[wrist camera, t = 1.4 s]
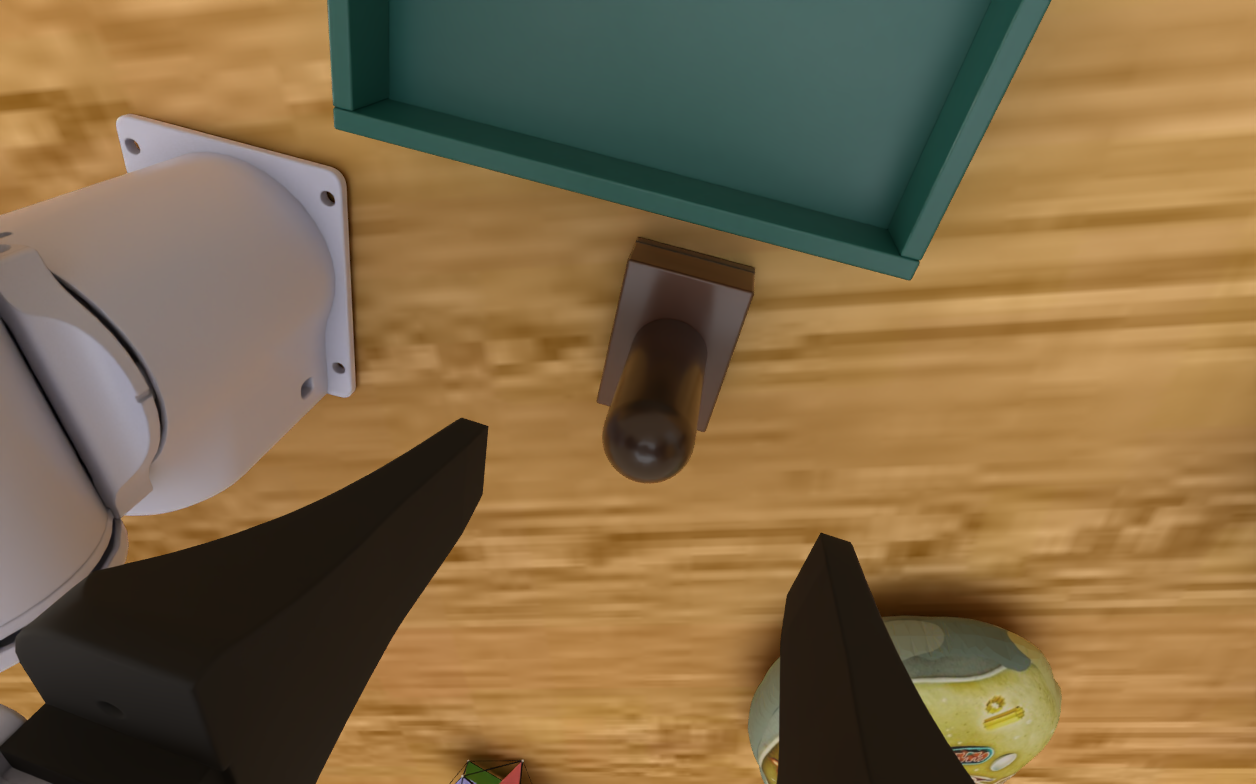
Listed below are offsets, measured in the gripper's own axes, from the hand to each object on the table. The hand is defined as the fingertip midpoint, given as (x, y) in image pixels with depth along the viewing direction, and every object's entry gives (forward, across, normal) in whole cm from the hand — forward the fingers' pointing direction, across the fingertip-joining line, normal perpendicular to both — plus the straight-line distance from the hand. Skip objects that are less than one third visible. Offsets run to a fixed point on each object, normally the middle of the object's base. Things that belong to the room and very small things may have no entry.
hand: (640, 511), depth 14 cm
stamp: (+10, +1, +1) cm, 11 cm away
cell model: (+12, -13, +17) cm, 24 cm away
